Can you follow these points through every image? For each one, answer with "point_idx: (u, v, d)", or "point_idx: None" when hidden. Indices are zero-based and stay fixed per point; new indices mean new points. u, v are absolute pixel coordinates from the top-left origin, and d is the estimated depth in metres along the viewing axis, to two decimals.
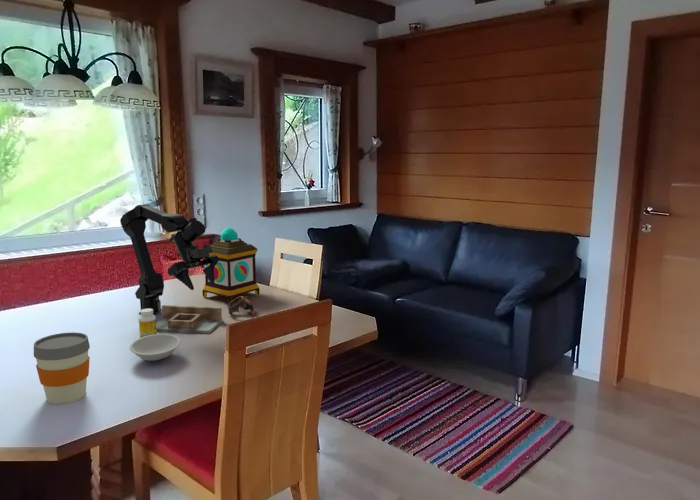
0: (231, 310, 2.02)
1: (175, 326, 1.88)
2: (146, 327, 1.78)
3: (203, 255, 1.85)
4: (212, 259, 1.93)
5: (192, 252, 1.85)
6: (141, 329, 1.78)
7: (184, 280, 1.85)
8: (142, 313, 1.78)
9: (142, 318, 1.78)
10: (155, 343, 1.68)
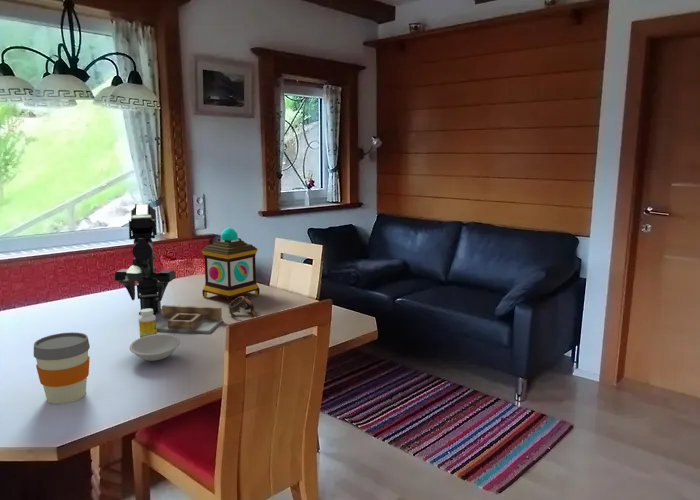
0: (232, 310, 2.02)
1: (175, 326, 1.88)
2: (146, 327, 1.78)
3: (131, 279, 1.70)
4: (159, 279, 1.74)
5: None
6: (141, 329, 1.78)
7: None
8: (142, 313, 1.78)
9: (142, 318, 1.78)
10: (155, 343, 1.68)
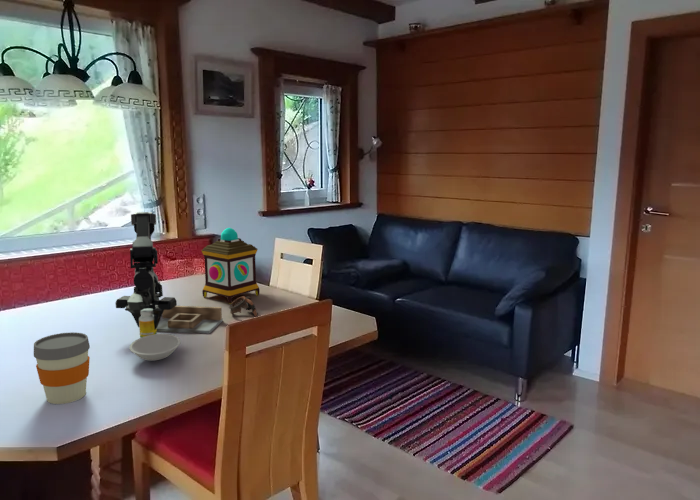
0: (233, 310, 2.02)
1: (175, 326, 1.88)
2: (146, 327, 1.78)
3: (132, 308, 1.71)
4: (160, 307, 1.75)
5: None
6: (141, 329, 1.78)
7: None
8: (142, 313, 1.78)
9: (142, 318, 1.78)
10: (155, 343, 1.68)
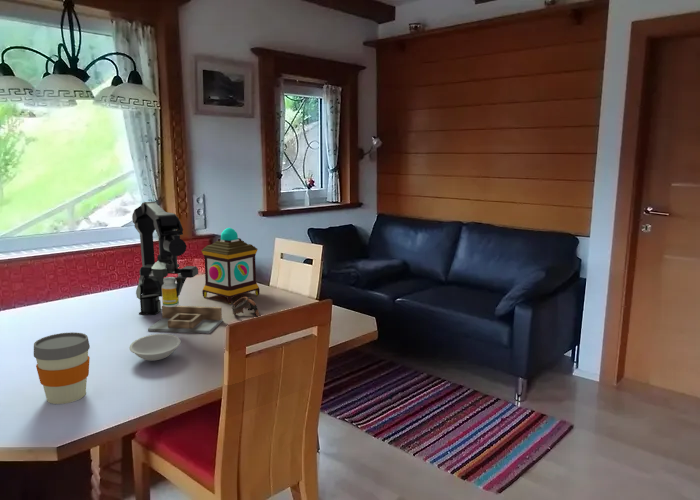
0: (235, 311, 2.01)
1: (175, 326, 1.88)
2: (168, 294, 1.83)
3: (156, 275, 1.77)
4: (182, 274, 1.81)
5: None
6: (164, 296, 1.84)
7: None
8: (165, 281, 1.83)
9: (165, 286, 1.83)
10: (155, 343, 1.68)
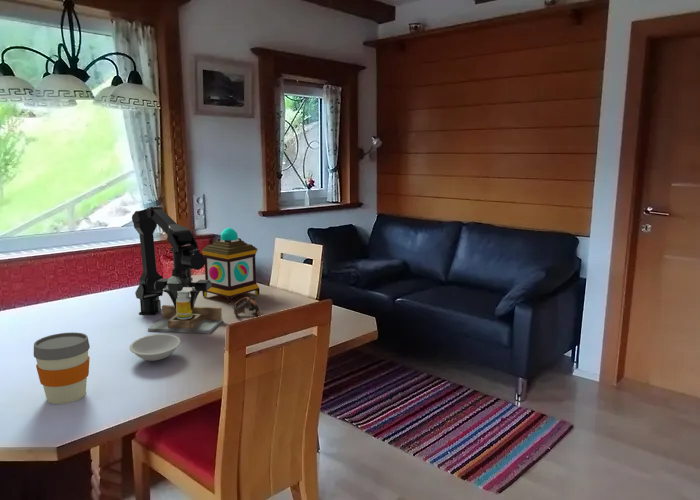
0: (237, 311, 2.01)
1: (175, 326, 1.88)
2: (183, 308, 1.88)
3: (171, 289, 1.82)
4: (196, 288, 1.86)
5: None
6: (178, 309, 1.89)
7: None
8: (179, 294, 1.88)
9: (179, 299, 1.88)
10: (155, 343, 1.68)
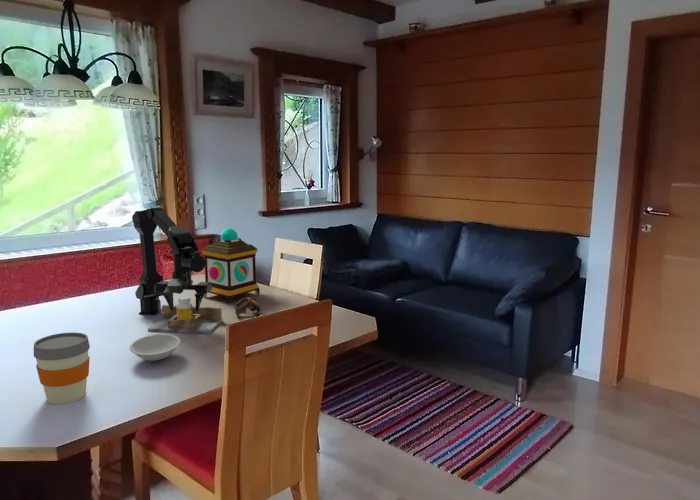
0: (238, 311, 2.01)
1: (175, 326, 1.88)
2: (183, 314, 1.89)
3: (171, 292, 1.82)
4: (197, 290, 1.86)
5: None
6: (179, 316, 1.89)
7: None
8: (180, 301, 1.89)
9: (180, 305, 1.89)
10: (155, 343, 1.68)
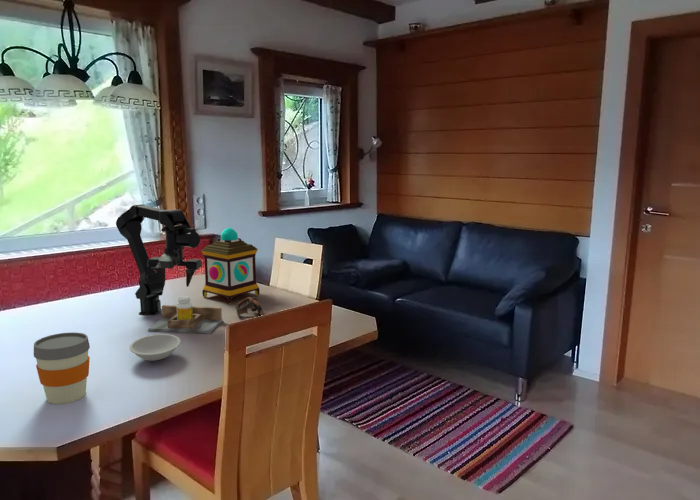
0: (240, 312, 2.00)
1: (175, 326, 1.88)
2: (183, 314, 1.89)
3: (163, 267, 1.90)
4: (187, 266, 1.94)
5: None
6: (179, 316, 1.89)
7: None
8: (180, 301, 1.89)
9: (180, 305, 1.89)
10: (155, 343, 1.68)
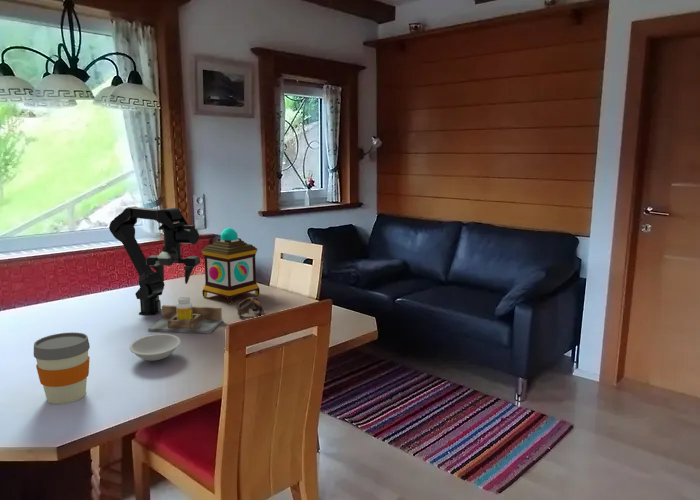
0: (241, 312, 2.00)
1: (175, 326, 1.88)
2: (183, 314, 1.89)
3: (162, 264, 1.92)
4: (186, 263, 1.96)
5: None
6: (179, 316, 1.89)
7: None
8: (180, 301, 1.89)
9: (180, 305, 1.89)
10: (155, 343, 1.68)
